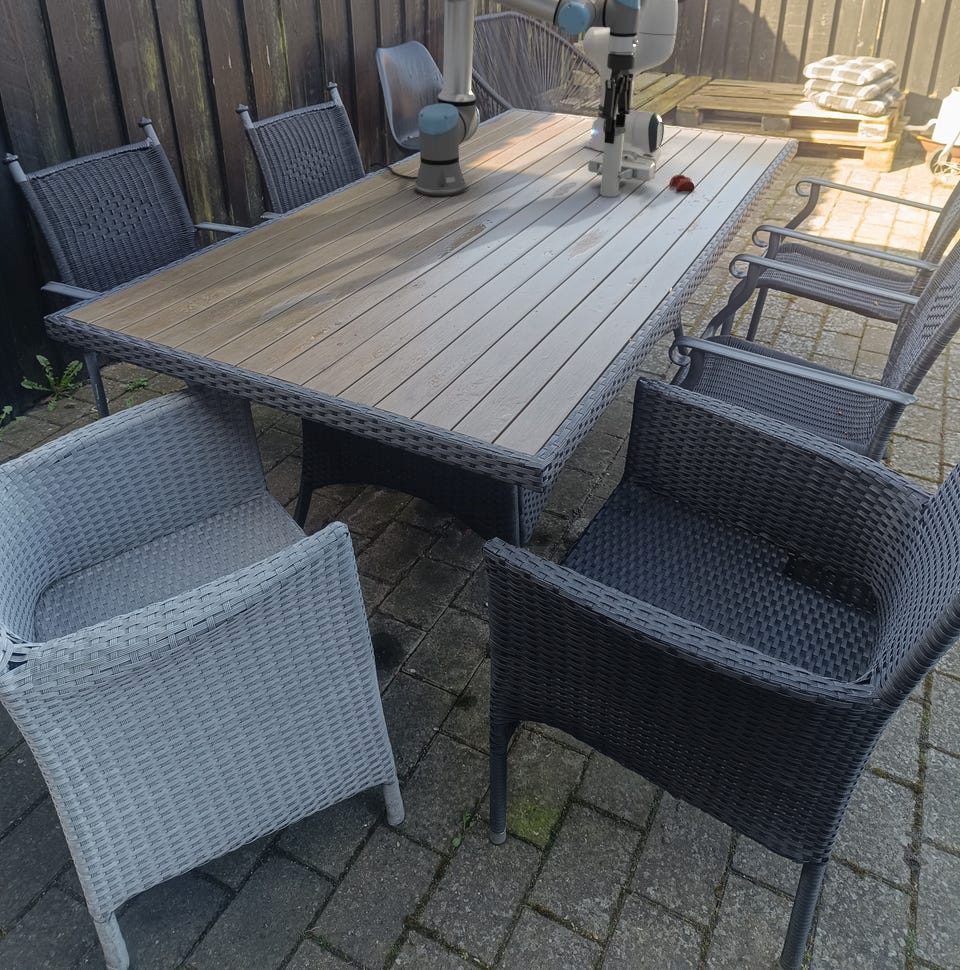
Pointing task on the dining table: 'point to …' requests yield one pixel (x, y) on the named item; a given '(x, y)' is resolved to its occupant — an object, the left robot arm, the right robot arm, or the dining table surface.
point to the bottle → (612, 167)
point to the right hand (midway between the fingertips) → (609, 174)
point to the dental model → (681, 183)
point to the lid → (619, 128)
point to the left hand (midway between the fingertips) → (614, 140)
